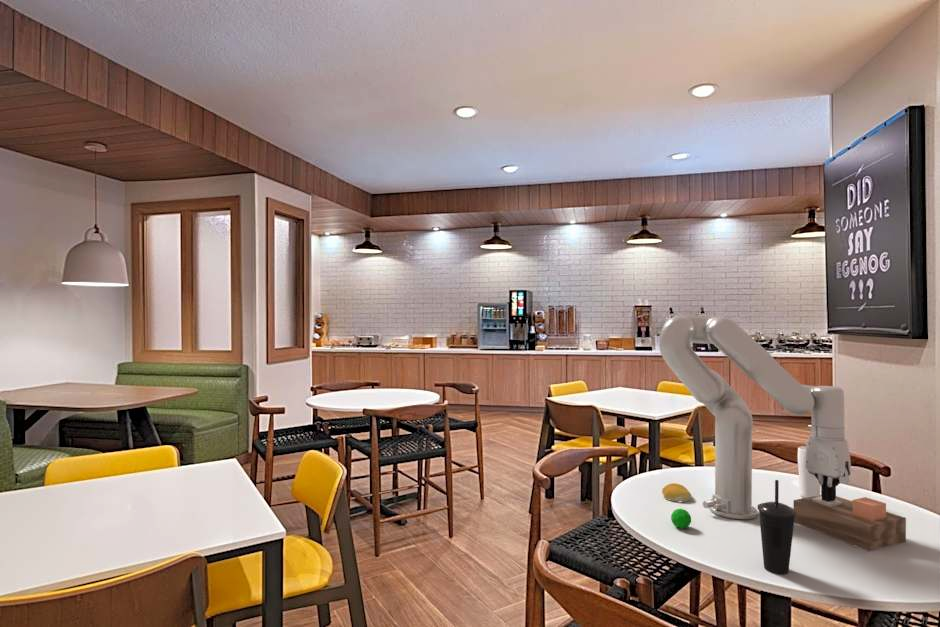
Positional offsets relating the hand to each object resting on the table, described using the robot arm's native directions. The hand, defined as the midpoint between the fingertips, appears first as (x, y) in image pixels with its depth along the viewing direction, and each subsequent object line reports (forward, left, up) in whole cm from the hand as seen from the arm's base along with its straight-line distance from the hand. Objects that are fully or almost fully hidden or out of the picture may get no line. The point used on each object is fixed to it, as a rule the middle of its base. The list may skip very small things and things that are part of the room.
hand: (828, 499), depth 153 cm
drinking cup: (-36, -13, -7) cm, 39 cm away
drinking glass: (+16, +17, -7) cm, 24 cm away
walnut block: (0, -5, -7) cm, 8 cm away
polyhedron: (-38, +14, -7) cm, 41 cm away
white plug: (0, 0, -4) cm, 4 cm away
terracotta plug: (0, -11, -1) cm, 11 cm away
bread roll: (-22, +33, -7) cm, 40 cm away
